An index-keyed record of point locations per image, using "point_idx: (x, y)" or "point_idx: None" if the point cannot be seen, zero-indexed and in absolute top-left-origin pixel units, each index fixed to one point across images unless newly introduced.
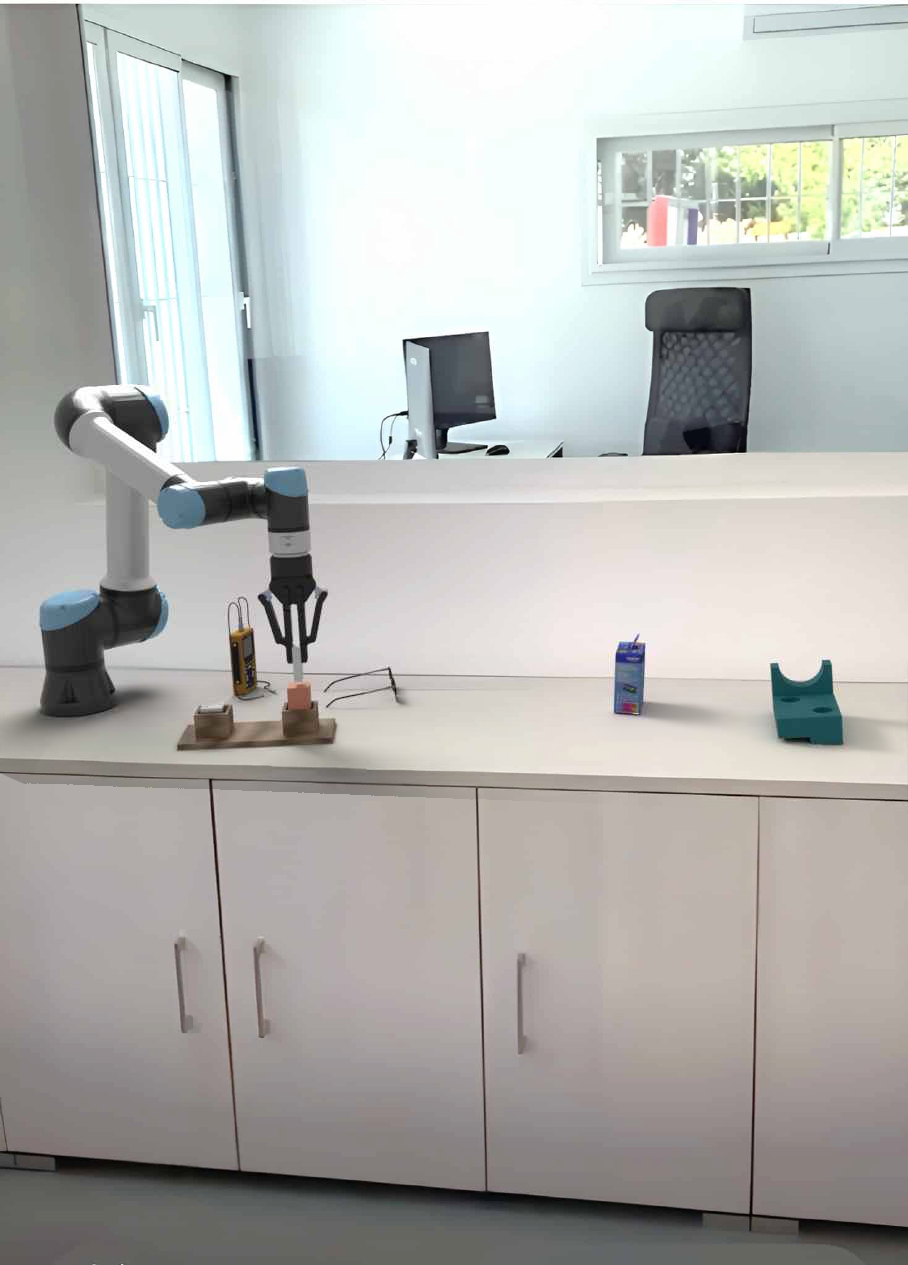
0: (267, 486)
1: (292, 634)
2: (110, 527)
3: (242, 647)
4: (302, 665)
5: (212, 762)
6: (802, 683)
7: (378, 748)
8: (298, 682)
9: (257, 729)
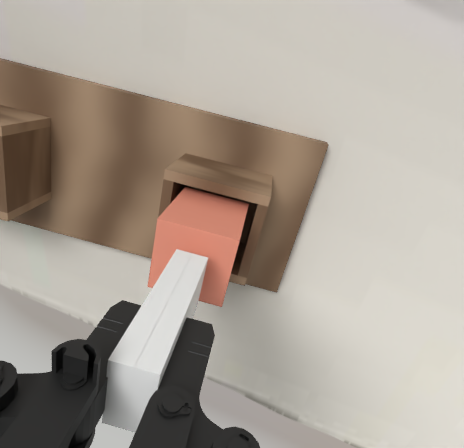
0: None
1: (66, 439)
2: None
3: None
4: (194, 292)
5: (42, 293)
6: None
7: (356, 349)
8: (194, 230)
9: (111, 164)
